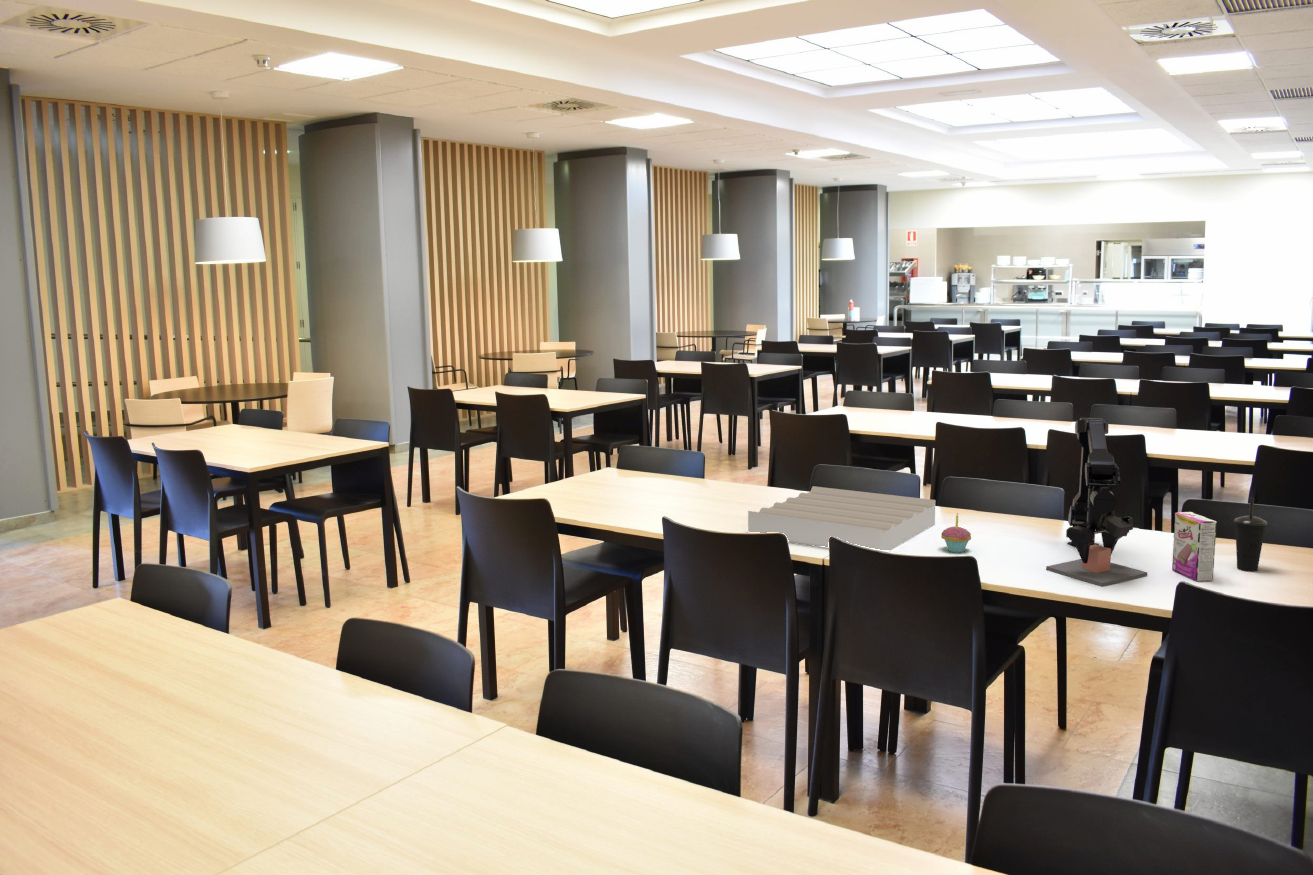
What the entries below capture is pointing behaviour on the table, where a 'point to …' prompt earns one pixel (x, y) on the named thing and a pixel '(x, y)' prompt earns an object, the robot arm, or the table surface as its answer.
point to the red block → (1098, 559)
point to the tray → (846, 518)
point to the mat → (1101, 578)
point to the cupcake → (956, 537)
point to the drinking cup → (1249, 540)
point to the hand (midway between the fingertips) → (1096, 560)
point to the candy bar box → (1194, 546)
